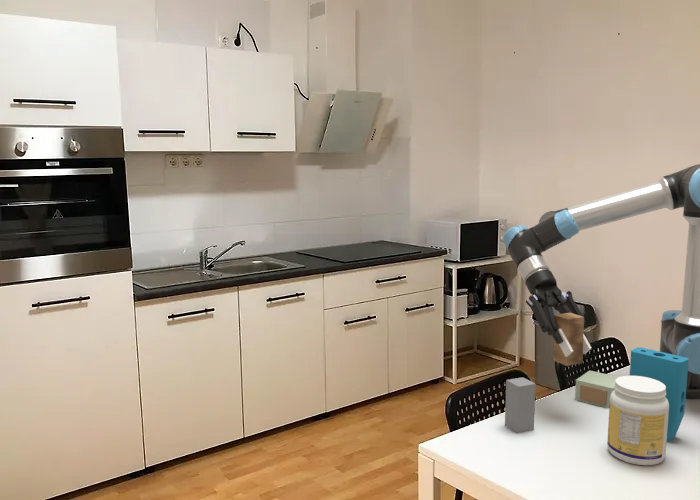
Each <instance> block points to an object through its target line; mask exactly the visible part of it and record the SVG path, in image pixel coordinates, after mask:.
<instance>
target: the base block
mask: <svg viewBox="0 0 700 500" xmlns="http://www.w3.org/2000/svg"><path fill="white" fill-rule="evenodd" d="M618 377H619V376H617V375H611V374H607V373H602V372H598V371H593V370H588V371H587V372H585V373H583V374H582V375H581V376H580V377H578V378H576V379H575V393H574V400H575V401H577V402H583V403H587V404H589V405H595V406H597V407H603V408H606V409H609V407H610V395H611V393H612V392H613V391H614V390H615V388H614V385H615V380H616V379H617V378H618Z"/></svg>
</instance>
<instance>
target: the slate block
mask: <svg viewBox="0 0 700 500" xmlns="http://www.w3.org/2000/svg"><path fill="white" fill-rule="evenodd" d="M536 386H537V384H536V383H535V382H533V381H531V380H529V379H528V378H525V377H518V378H517V377H516V378H510V379H506V381H505V411H504V414H505V415H504V426H505V427H506V428H508V429H509V430H511V431H512V432H514V433H516V434H522V433H526V432H532V431H535V415H536V413H535V411H536V409H535V408H536Z"/></svg>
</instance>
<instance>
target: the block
mask: <svg viewBox="0 0 700 500" xmlns="http://www.w3.org/2000/svg"><path fill="white" fill-rule="evenodd" d="M688 360H689V359H688V358H686V357H682V356H677V355H673V354H668V353H664V352H660V350H655V349H649V348H646V347H636V348H633V349H630V360H629V361H630V363H629V364H630V365H629V376H642V377H648V378H652V379H655V380H658V381H660V382H662V383H663V384H664V385H665V386H666V396H665V397H666V398H667V400H668V402H669V415H668V428H667V442H671V441H673V439H675V438H676V436H677V434H678V431H679V429H680V425H681V423H682V421H683V418H684V416H685V411H686V400H687V398H686V387H687V374H688ZM667 442H666V443H667Z"/></svg>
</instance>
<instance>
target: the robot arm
mask: <svg viewBox="0 0 700 500" xmlns="http://www.w3.org/2000/svg"><path fill="white" fill-rule="evenodd" d="M681 208H683V211H682V212H683V213H682V217H683V218H684V219H685V220H686V221H687V223H688V232H687V233H688V234H687V245H686V255H685V269H684V281H683V292H682V293H683V294H682V303H681V310H679V309H678V310H673V309H672V310H666V311H664V312H663V313H662V315H661V321H660V323H661V325H660V326H661V327H660V338H659V339H660V340H659V342H660V343H659V351H660V352H664V353H668V354H673V355H677V356H682V357H686V358H688V359H689V360H688V374H687V387H686V399H700V163H698V164H694V165H691V166H688V167H686V168H683V169H681V170H678V171H676V172H673V173H670V174H667V175H664V176H660V178H659V179H658V180H657V181H656V182H653V183H652V182H651V183H649V184H648V183H647V184H646V185H642V186H638V187H635V188H631V189H628V190H624V191H621V192H618V193H613V194H611V195H606V196H604V197H599V198H596V199H593V200H589V201H586V202H585V201H584V202H581V203H579V204H575V205H572V206H567V207H566V208H565V207H564V208H562V209H558V210H549V211H547V212H544V213H543V214H542V215H541V216H540V217H539V220H538V223H537V224H535V225H534V226H532V227H530V228H528V227H527V226H525V225H522V224H518V225H516V226H512V227H510V228H509V229H507V230H506V232H505V233H504V234H503V237H502V239H503V243H504V245H505V247H506V251H507V252H508V254H509V256H510V258H511V260H512V262H513V263H514V265H515V267H516V269H517V271H518V272H519V274H520V277H521V278H522V280H523V282H525V283H524V284H525V286H526V288H527V290H528V292H529V293H530V295H529V297H528V298H526V300H525V303H526V305H528V307H529V308H530V310H531V312H532V313H533V316H534V317H535V319H536V321H537V323H538V325H539V327H540V330H541V331H542V332H543V333H547V335H548V336H552V338H553V341H554V340H555V342H556V343H557V344H559V346H560V347H561V349H562V351H563V353H564V355H565V357H568V356H569V355H570V354H571V353H572V352H573V349H572V347H571V346H570V344H569V342H568V340H567V338H566V336H565V335H564V333H563V331H562V329H558V326H557V323H556V319H555V312H554V310H555V311H557V312H559V313H558V314H564V313H573V314H576V315H579V316H582V317H584V315H583V314H582V312H581V310H580V308H579V306H578V305H577V303H576V301H575V299H574V297H573V293H572V291H570V290H567V292H565V291H562V290H561V289H560V288H559V287H558V286H557V285H558V284H557V279H556V277H555V276H554V274H553V272H552V271H551V269H550V267H549V265H548V263H547V262H546V260H545V258H544V256H543V254H542V253H544V252H546V251H547V250H549V249H551V248H553V247H556V246H557V245H559V244H561V243H563V242H565V241H568V240H571V238H573V237H574V236H576V235H577V234H579V232H581V231H584V230H589V229H592V228H596V227H599V226H602V225H607V224H609V223H613V222H614V223H615V222H617V221H618V222H619V221H621V220H625V219H629V218H634V217H636V216H641V215H644V214H648V213H651V212H655V211H658V210H662V209H667V210H670V211H673V210H676V209H681ZM586 322H587V320H586V319H585V318H584V324H586ZM557 329H558V330H557ZM587 337H588V336H587V334H586V332H585V331H584V334H583V355H585V354H587V353H588V352H589V351H591V350H592V346H591V344H590V342H589V341H588V339H587Z"/></svg>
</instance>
